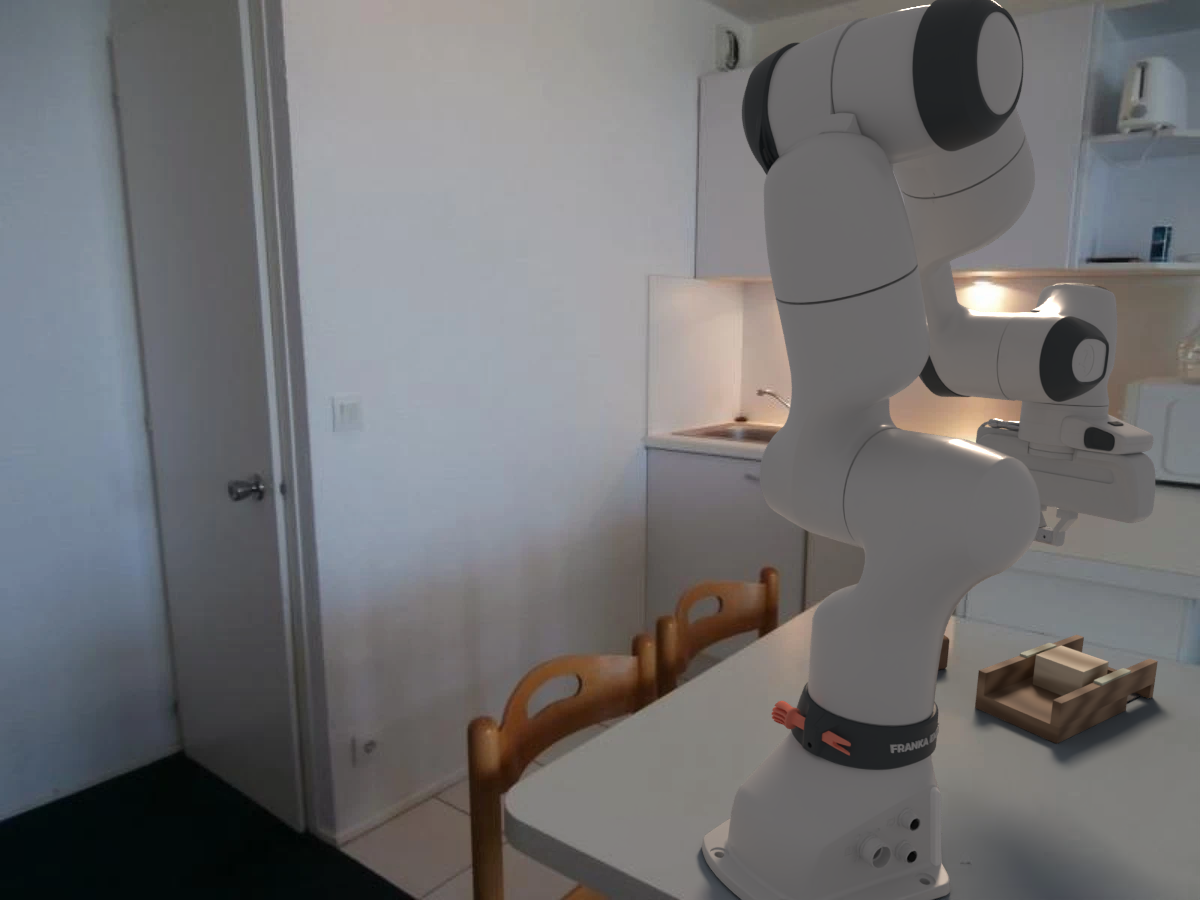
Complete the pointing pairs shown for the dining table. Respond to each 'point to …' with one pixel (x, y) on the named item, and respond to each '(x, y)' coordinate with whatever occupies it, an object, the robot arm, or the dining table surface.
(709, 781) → the dining table surface
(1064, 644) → the walled channel
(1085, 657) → the birch block
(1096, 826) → the dining table surface
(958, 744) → the dining table surface
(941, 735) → the dining table surface
